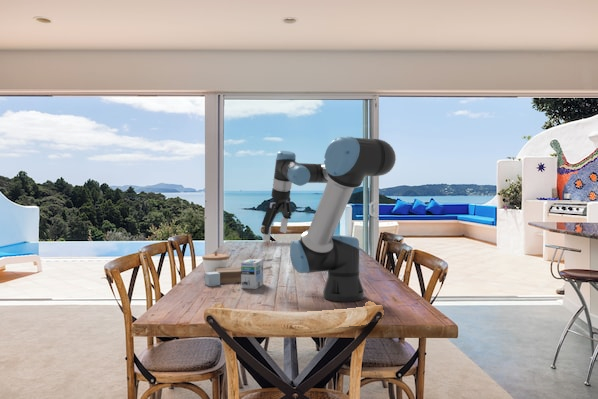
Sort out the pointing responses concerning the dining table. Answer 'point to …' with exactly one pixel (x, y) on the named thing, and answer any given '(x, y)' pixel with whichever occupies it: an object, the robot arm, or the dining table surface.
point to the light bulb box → (252, 273)
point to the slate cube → (212, 278)
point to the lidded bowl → (215, 261)
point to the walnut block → (229, 274)
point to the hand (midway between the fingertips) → (274, 236)
